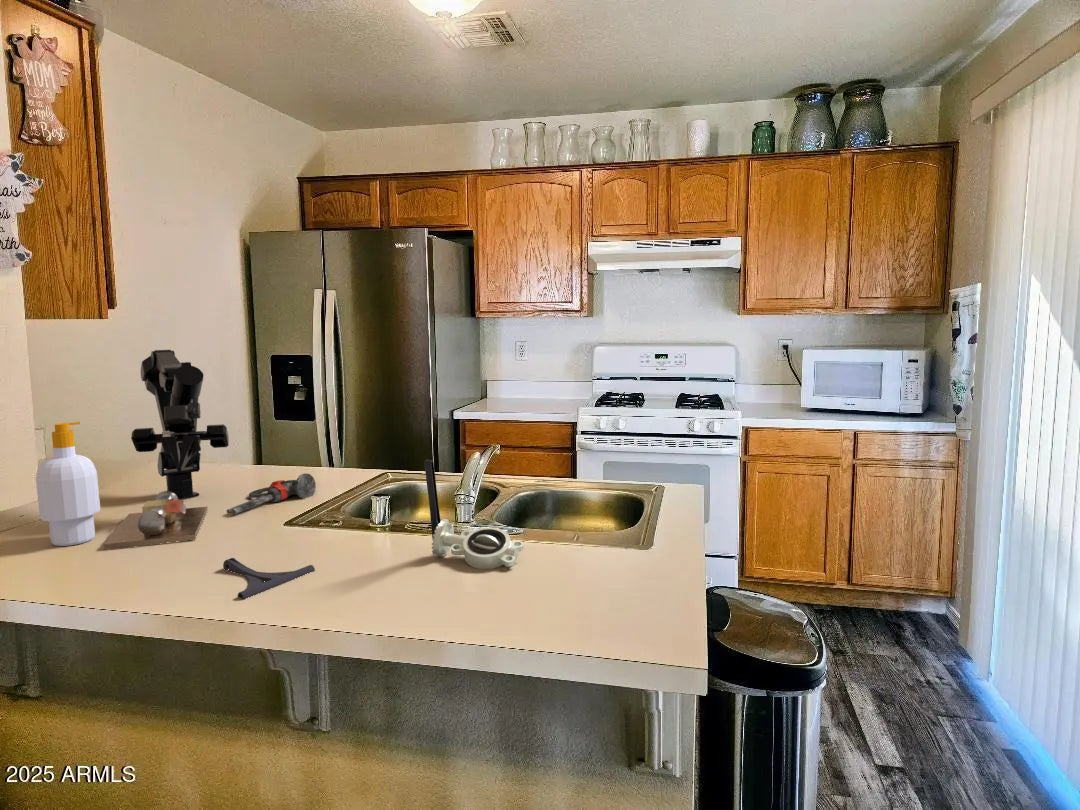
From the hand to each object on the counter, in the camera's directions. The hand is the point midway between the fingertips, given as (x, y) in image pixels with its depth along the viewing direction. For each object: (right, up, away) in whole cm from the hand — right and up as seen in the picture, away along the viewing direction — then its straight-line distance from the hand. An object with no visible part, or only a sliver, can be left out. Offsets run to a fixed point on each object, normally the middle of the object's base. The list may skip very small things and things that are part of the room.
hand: (179, 470), depth 149 cm
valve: (+11, -10, +20) cm, 25 cm away
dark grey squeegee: (+28, -17, -28) cm, 43 cm away
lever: (+1, -8, 0) cm, 9 cm away
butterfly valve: (+66, -15, -21) cm, 71 cm away
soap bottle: (-17, -14, -9) cm, 23 cm away
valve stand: (-3, -12, -2) cm, 13 cm away
